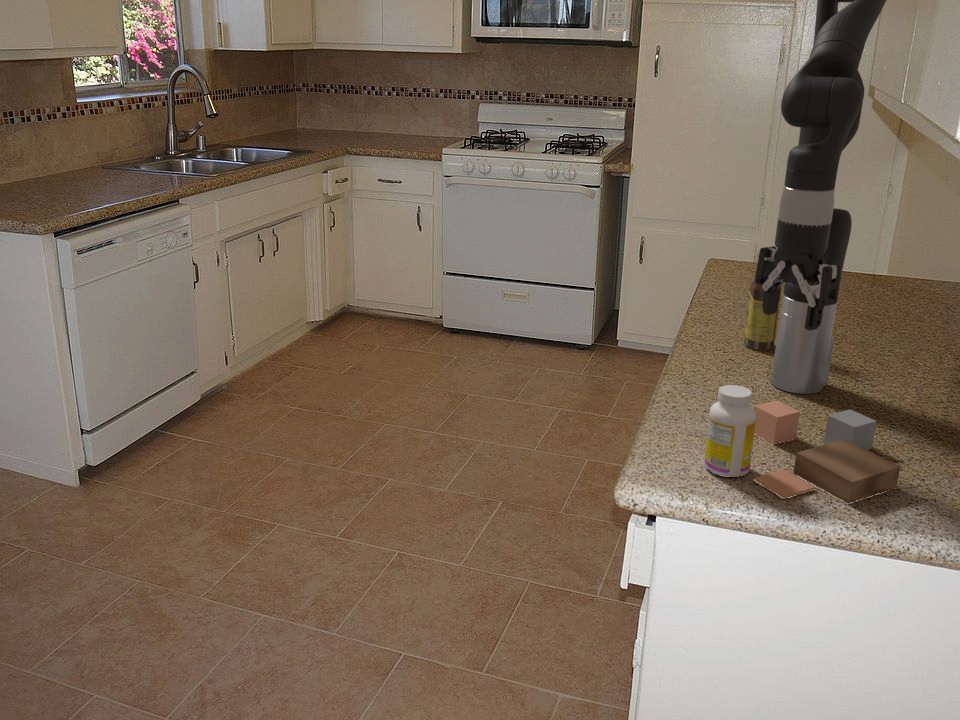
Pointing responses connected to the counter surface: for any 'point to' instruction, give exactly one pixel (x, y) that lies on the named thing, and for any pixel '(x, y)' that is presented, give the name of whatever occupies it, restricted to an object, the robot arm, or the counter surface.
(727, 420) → the supplement bottle
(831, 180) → the robot arm
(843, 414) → the grey block
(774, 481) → the tile
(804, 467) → the walnut block
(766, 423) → the terracotta block
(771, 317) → the sauce bottle
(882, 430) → the counter surface
